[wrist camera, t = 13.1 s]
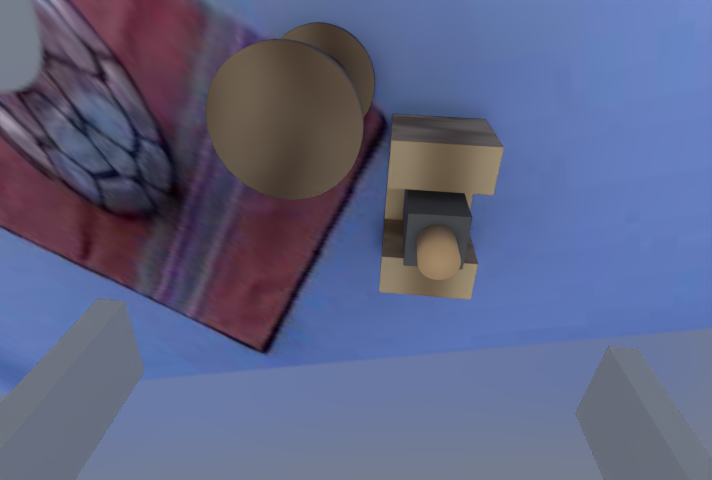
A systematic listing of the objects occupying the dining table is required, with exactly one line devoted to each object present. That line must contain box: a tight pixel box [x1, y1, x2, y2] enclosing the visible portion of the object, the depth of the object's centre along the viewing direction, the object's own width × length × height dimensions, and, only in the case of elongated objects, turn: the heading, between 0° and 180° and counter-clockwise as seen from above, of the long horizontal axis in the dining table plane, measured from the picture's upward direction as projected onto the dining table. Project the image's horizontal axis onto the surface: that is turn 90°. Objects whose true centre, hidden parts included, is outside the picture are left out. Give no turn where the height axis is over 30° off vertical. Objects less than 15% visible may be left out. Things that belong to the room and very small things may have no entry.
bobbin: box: [206, 23, 375, 200], centre depth 27 cm, size 8×8×12 cm
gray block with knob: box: [403, 189, 472, 280], centre depth 31 cm, size 4×4×10 cm
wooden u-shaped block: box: [379, 114, 504, 299], centre depth 33 cm, size 7×12×7 cm, turn 178°
